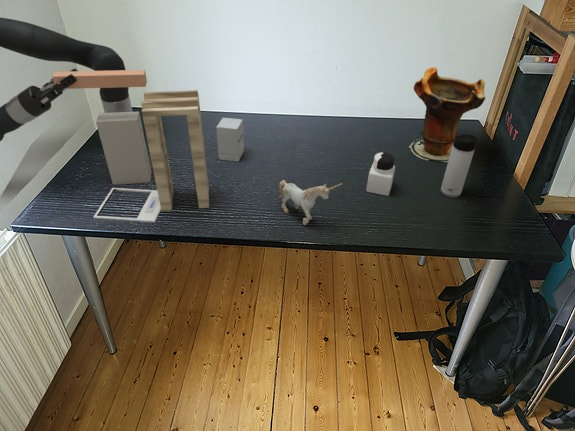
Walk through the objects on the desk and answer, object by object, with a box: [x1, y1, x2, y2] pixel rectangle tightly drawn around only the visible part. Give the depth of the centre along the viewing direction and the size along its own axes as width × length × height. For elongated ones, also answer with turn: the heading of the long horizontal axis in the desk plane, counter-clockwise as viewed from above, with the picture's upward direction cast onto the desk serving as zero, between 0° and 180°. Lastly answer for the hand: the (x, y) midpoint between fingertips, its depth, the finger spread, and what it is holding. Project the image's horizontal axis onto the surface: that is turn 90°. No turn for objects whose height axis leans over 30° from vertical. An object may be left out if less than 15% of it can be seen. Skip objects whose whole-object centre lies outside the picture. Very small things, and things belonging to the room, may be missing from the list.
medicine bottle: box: [365, 151, 396, 197], centre depth 143 cm, size 7×7×12 cm
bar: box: [51, 69, 148, 90], centre depth 128 cm, size 4×24×4 cm, turn 98°
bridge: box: [140, 89, 210, 212], centre depth 130 cm, size 10×14×34 cm
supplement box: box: [215, 117, 245, 163], centre depth 157 cm, size 7×7×13 cm
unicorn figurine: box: [278, 179, 343, 226], centre depth 131 cm, size 7×20×13 cm, turn 62°
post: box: [95, 111, 152, 185], centre depth 142 cm, size 6×12×22 cm, turn 98°
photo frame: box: [93, 187, 161, 223], centre depth 138 cm, size 15×1×18 cm
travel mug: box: [440, 133, 478, 199], centre depth 140 cm, size 6×7×20 cm
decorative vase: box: [408, 67, 486, 163], centre depth 158 cm, size 21×23×28 cm
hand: (75, 74), depth 126 cm, fingers closed on bar, 3 cm apart
